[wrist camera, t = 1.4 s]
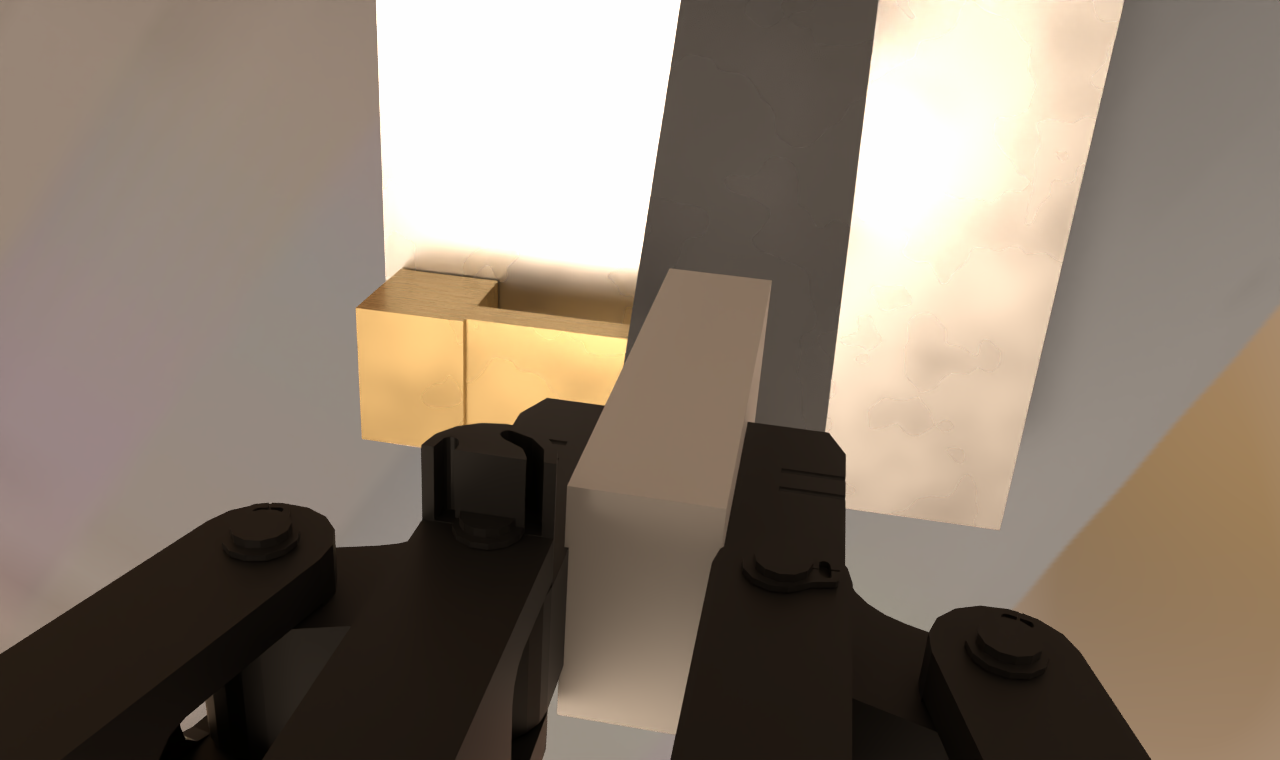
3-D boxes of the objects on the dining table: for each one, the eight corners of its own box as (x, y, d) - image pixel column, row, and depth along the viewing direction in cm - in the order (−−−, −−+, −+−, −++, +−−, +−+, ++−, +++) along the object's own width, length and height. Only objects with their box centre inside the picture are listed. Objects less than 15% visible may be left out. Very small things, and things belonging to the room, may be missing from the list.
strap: (738, -315, 26) (737, -381, 24) (914, -307, 25) (925, -373, 24) (598, 592, 22) (584, 593, 21) (797, 624, 22) (802, 626, 20)
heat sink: (451, -330, 32) (316, -398, 24) (1134, -295, 30) (1241, -358, 22) (455, 363, 42) (359, 483, 33) (977, 432, 39) (1010, 579, 31)
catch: (400, 269, 33) (355, 308, 30) (666, 301, 32) (648, 344, 29) (403, 390, 35) (362, 439, 32) (656, 425, 34) (638, 477, 31)
